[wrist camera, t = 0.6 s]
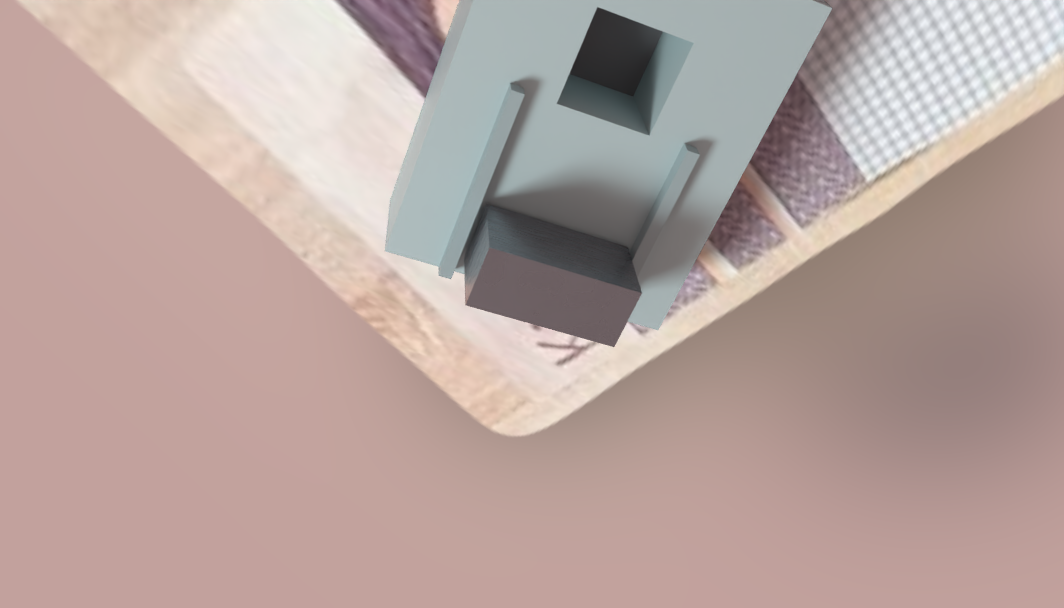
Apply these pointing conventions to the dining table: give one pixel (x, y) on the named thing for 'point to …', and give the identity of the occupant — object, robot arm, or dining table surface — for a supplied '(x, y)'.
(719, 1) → the block
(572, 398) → the dining table surface
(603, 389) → the dining table surface
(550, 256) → the bar
